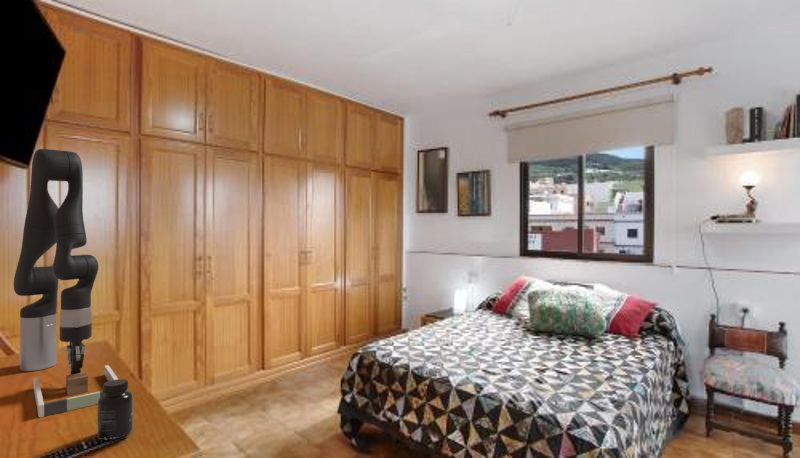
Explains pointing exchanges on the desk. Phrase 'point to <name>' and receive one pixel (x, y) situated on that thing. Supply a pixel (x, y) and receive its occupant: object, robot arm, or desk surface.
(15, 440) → the desk surface
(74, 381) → the walnut block
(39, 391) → the box
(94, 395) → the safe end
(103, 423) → the supplement bottle
